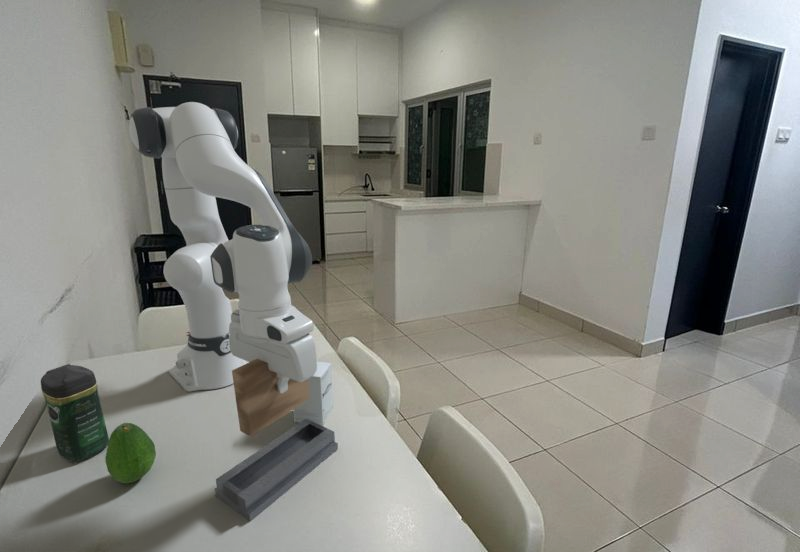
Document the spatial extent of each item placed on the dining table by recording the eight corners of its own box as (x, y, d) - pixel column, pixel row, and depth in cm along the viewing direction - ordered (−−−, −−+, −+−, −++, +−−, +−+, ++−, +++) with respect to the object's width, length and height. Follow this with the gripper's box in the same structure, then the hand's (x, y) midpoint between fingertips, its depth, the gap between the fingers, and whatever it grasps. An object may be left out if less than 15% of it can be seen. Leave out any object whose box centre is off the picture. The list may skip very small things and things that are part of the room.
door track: (215, 495, 76) (213, 477, 75) (304, 432, 93) (303, 417, 92) (250, 521, 70) (248, 502, 69) (337, 449, 88) (337, 433, 87)
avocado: (108, 499, 75) (95, 442, 72) (113, 471, 82) (102, 418, 78) (158, 484, 78) (148, 429, 75) (160, 458, 85) (150, 407, 82)
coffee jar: (117, 445, 89) (100, 367, 84) (74, 468, 82) (53, 385, 77) (93, 431, 94) (76, 357, 89) (52, 452, 87) (31, 372, 82)
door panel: (240, 430, 74) (231, 370, 70) (299, 394, 85) (294, 340, 81) (250, 436, 72) (242, 375, 69) (309, 398, 83) (304, 344, 80)
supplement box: (323, 426, 95) (320, 377, 92) (293, 422, 97) (289, 374, 94) (334, 408, 102) (332, 362, 99) (306, 405, 104) (303, 359, 100)
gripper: (215, 312, 76) (225, 379, 80) (292, 336, 65) (298, 413, 69) (245, 302, 81) (252, 366, 85) (320, 324, 70) (325, 395, 74)
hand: (273, 387), depth 77 cm, fingers closed on door panel, 3 cm apart
